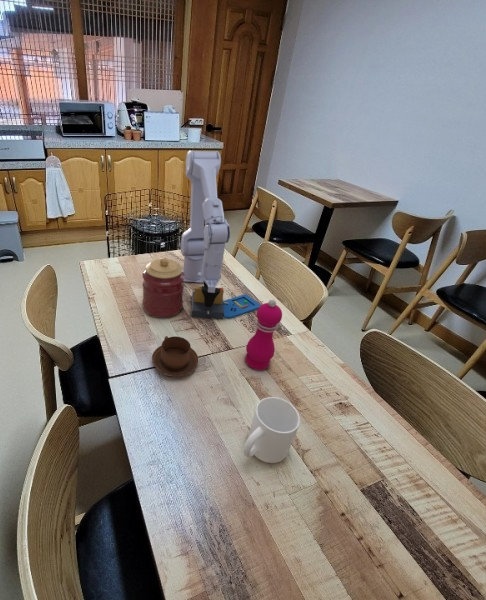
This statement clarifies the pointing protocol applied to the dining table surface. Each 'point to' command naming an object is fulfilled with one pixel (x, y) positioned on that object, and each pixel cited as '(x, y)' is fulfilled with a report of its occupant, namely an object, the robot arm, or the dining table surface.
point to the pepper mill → (263, 336)
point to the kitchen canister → (163, 288)
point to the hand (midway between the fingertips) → (208, 299)
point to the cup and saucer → (175, 357)
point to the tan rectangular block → (200, 297)
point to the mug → (272, 430)
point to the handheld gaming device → (239, 306)
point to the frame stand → (207, 310)
